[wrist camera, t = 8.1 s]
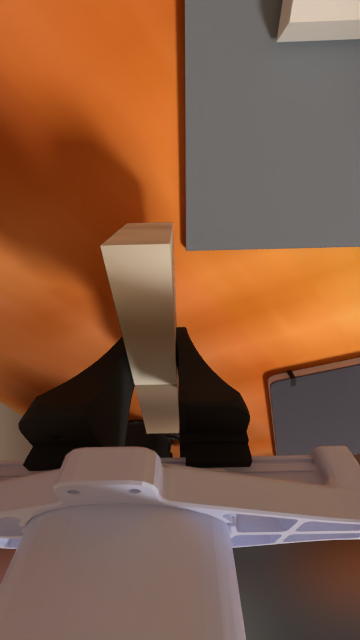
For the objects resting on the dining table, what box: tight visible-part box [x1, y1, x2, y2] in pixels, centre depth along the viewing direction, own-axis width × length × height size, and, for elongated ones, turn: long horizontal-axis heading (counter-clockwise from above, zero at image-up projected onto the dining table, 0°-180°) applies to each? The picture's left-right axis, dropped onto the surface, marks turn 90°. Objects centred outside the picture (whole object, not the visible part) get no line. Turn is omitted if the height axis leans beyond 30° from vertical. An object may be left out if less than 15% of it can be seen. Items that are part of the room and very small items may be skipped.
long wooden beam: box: [100, 222, 179, 434], centre depth 13 cm, size 14×2×4 cm, turn 1°
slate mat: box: [185, 0, 360, 251], centre depth 9 cm, size 16×18×1 cm
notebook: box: [268, 357, 360, 456], centre depth 26 cm, size 13×2×21 cm
